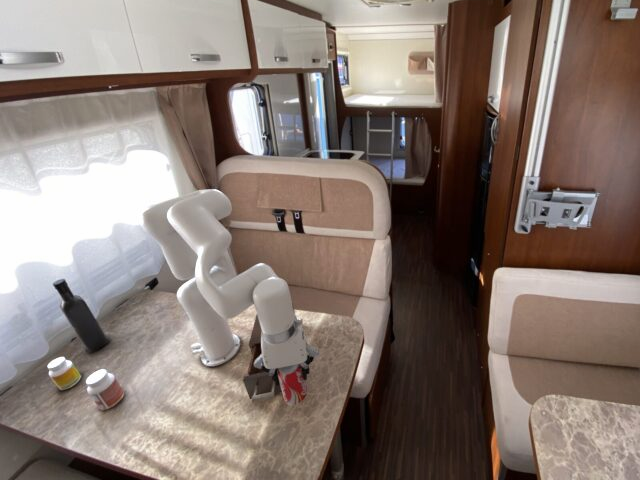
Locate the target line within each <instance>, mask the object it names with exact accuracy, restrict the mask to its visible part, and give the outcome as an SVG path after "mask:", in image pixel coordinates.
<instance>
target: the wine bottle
mask: <svg viewBox="0 0 640 480" xmlns="http://www.w3.org/2000/svg"><path fill="white" fill-rule="evenodd" d="M52 286H53V287H54V289H55V290H56V291H57V293H58V294H59V296H60V298H61V300H62V301H61V302H60V304H59V307H60V308H59V309H60V310H61V311H62V313H63V315H64V317H65V318H66V319H67V321H68V323H69V324H70V326H71V327H72V329H73V331H74V332H75V333H76V336H77V337H78V338H79V340H80V341H81V343H82V344H83V346H84V348H85V349H86V350H87V351H88V352H89V353H93V352H96V351H97V350H99V349H100V348H102V347H104V346H105V345H107V344H108V343H109V340H108V338H107V336H106V334H105V333H104V331H103V329H102V326H100V323H99V322H98V320H97V319H96V318H95V316H94V313H93V312H92V310H91V309H90V307H89V306H88V304H87V302H86V300H84V298H83V297H82V296H81V295H77V294H74V293H73V292H72V290H71V288H70V287H69V285H68V282H67V281H66V279H65V278H61V279H57V280H55V281H54V282H52Z"/></svg>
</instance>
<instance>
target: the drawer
mask: <svg viewBox="0 0 640 480" xmlns="http://www.w3.org/2000/svg"><path fill="white" fill-rule="evenodd" d="M261 354H262V349H261V344H260V345H254V347H253V351H252V354H251V356H250V360H249V363H248V368H247V375H243V378H242V382H243V385H244V387H245V391H246V393H247V396H248V399H249V400H251V403H257V402H262V401H267V400H271V399H274V398H275V397H276V395H277V394H283V393H282V390H281V386H280V382H279V385H278V386H276V384H275V381H273V380H272V377H271V376H269V373H267V372H265V371H262V370H261V369H259V368H256V367H254V362H255V360H256V359H257V358H258V357H259V356H260V355H261Z"/></svg>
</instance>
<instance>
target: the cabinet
mask: <svg viewBox="0 0 640 480" xmlns="http://www.w3.org/2000/svg"><path fill="white" fill-rule="evenodd" d="M292 305H293V310H294V315H296V311H295V307H294V303H293V302H292ZM261 333H262V329H261V326H260V322H259V319H258V315H257V314H255V318H254V323H253V327H252V330H251V333H250V338H249V342H248V347H249V350H250V353H251V355H252V351H253V347H254V345H260V344H261Z"/></svg>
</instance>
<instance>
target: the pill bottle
mask: <svg viewBox="0 0 640 480" xmlns="http://www.w3.org/2000/svg"><path fill="white" fill-rule="evenodd" d="M85 383H86V386H87V389H86V391H87V393H88V395H89V396H90V398H91V399H92V401H94V403H95V404H96V406H97V407H98V409H99V410H103V411H105V410H109V409H111V408H113V407H115V406H116V405H117V404H118V403H120V401H122V399H123V397H124V395H125V391H124V389H123V388H122V386H121V384H120V382H118V380H117V378H116V377H115V375H114V374H113V373H110V372H108V371H107V370H106V369H104V368H102V369H99V370H96V371H94V372H92V373H91V374H90V375H89V376H88V377H87V379H86V380H85Z"/></svg>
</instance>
